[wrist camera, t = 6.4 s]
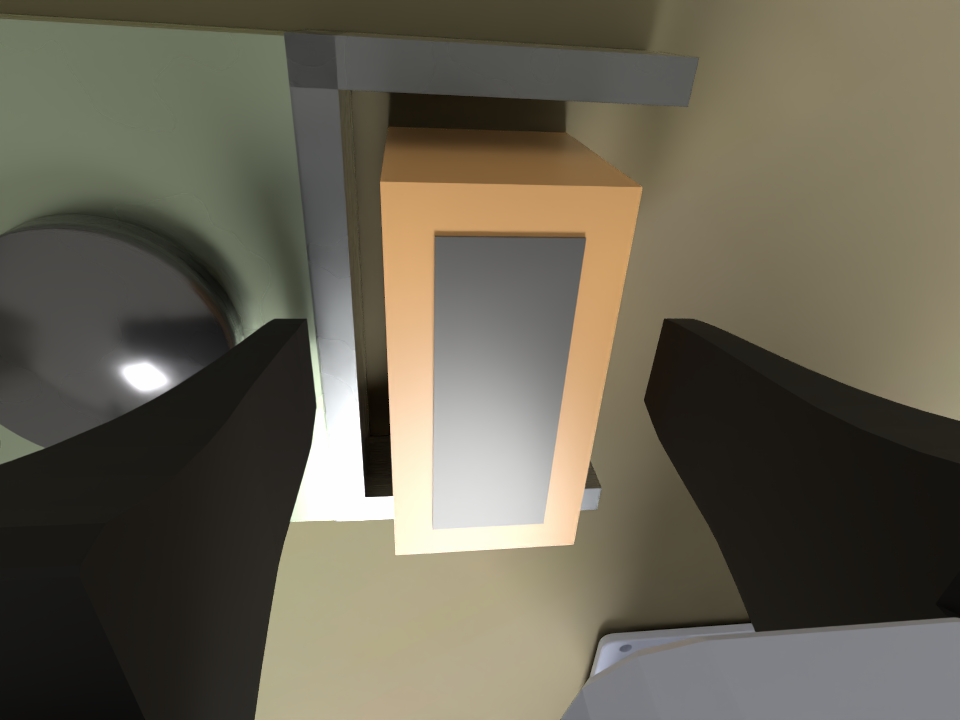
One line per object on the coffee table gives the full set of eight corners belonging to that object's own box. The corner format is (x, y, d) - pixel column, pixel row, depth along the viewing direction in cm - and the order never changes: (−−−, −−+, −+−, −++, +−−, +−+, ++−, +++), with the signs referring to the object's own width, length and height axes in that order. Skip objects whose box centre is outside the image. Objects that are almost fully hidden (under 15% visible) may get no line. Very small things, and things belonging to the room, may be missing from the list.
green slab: (647, 50, 12) (726, 61, 9) (574, 450, 18) (607, 538, 15) (-146, 1, 10) (-373, -7, 7) (55, 466, 16) (-25, 570, 13)
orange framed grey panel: (564, 131, 13) (644, 188, 9) (531, 413, 17) (574, 547, 13) (388, 125, 12) (379, 182, 8) (397, 417, 17) (395, 557, 12)
